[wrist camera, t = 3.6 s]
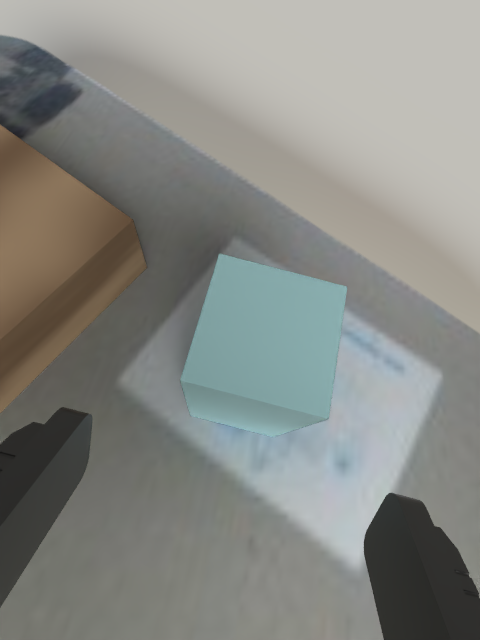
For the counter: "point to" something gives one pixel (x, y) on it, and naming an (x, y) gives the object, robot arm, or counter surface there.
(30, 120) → the counter surface
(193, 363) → the teal block
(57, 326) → the walnut block
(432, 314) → the counter surface
